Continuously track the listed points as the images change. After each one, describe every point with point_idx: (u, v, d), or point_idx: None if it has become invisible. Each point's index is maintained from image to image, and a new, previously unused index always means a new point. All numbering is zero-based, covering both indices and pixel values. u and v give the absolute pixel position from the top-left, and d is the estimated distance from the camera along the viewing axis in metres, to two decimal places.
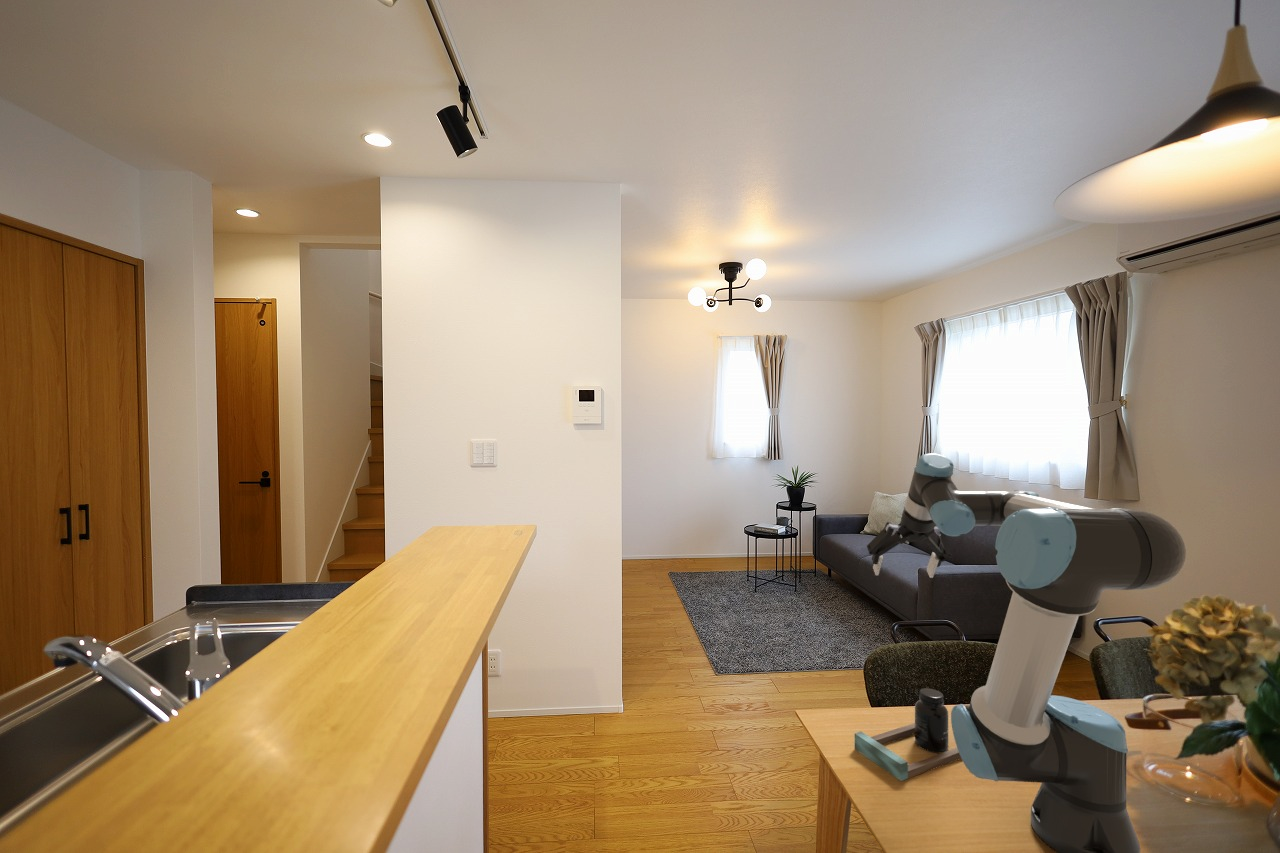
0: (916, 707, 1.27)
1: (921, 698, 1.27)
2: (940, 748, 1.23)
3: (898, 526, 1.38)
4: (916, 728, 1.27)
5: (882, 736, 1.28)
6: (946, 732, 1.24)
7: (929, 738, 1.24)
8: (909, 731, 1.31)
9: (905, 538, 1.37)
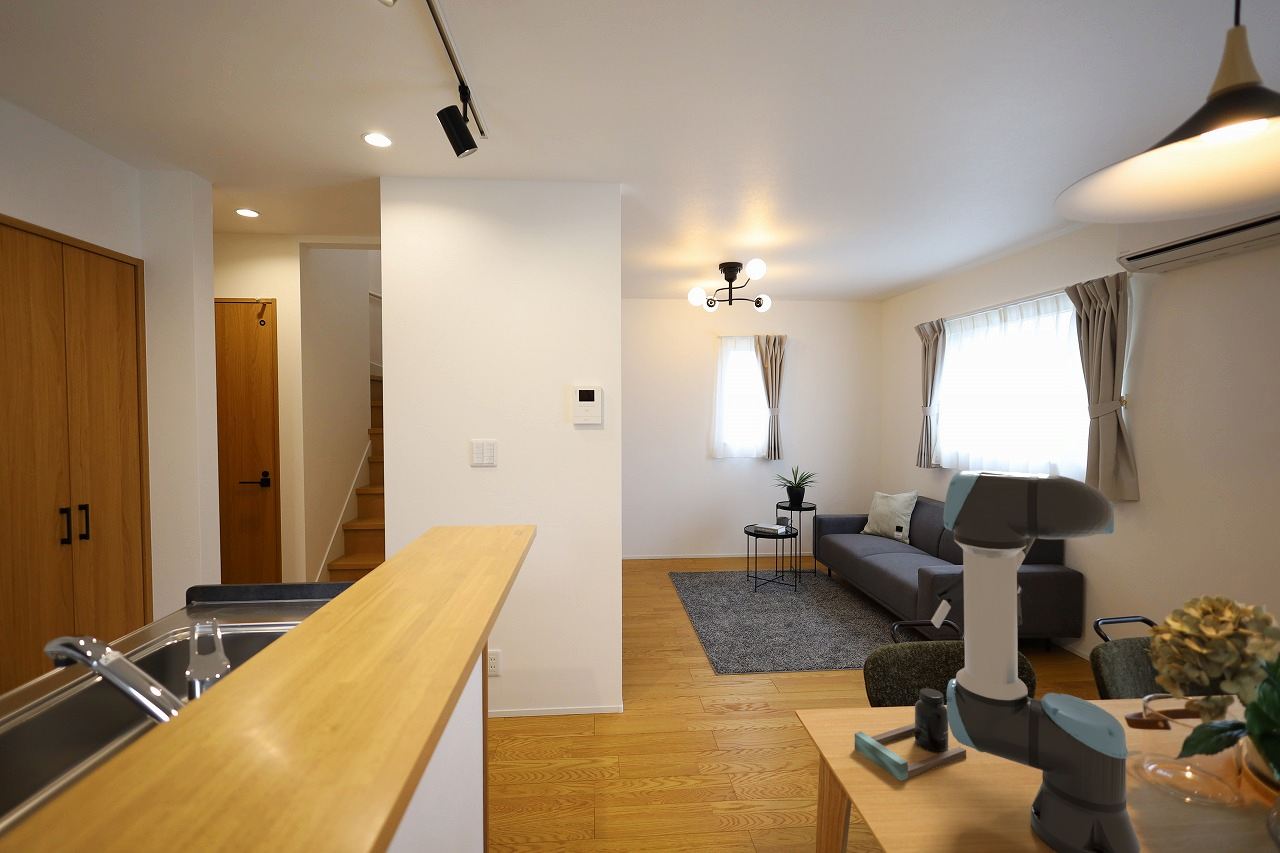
0: (916, 707, 1.27)
1: (921, 698, 1.27)
2: (940, 748, 1.23)
3: None
4: (916, 728, 1.27)
5: (882, 736, 1.28)
6: (946, 732, 1.24)
7: (929, 738, 1.24)
8: (909, 731, 1.31)
9: None
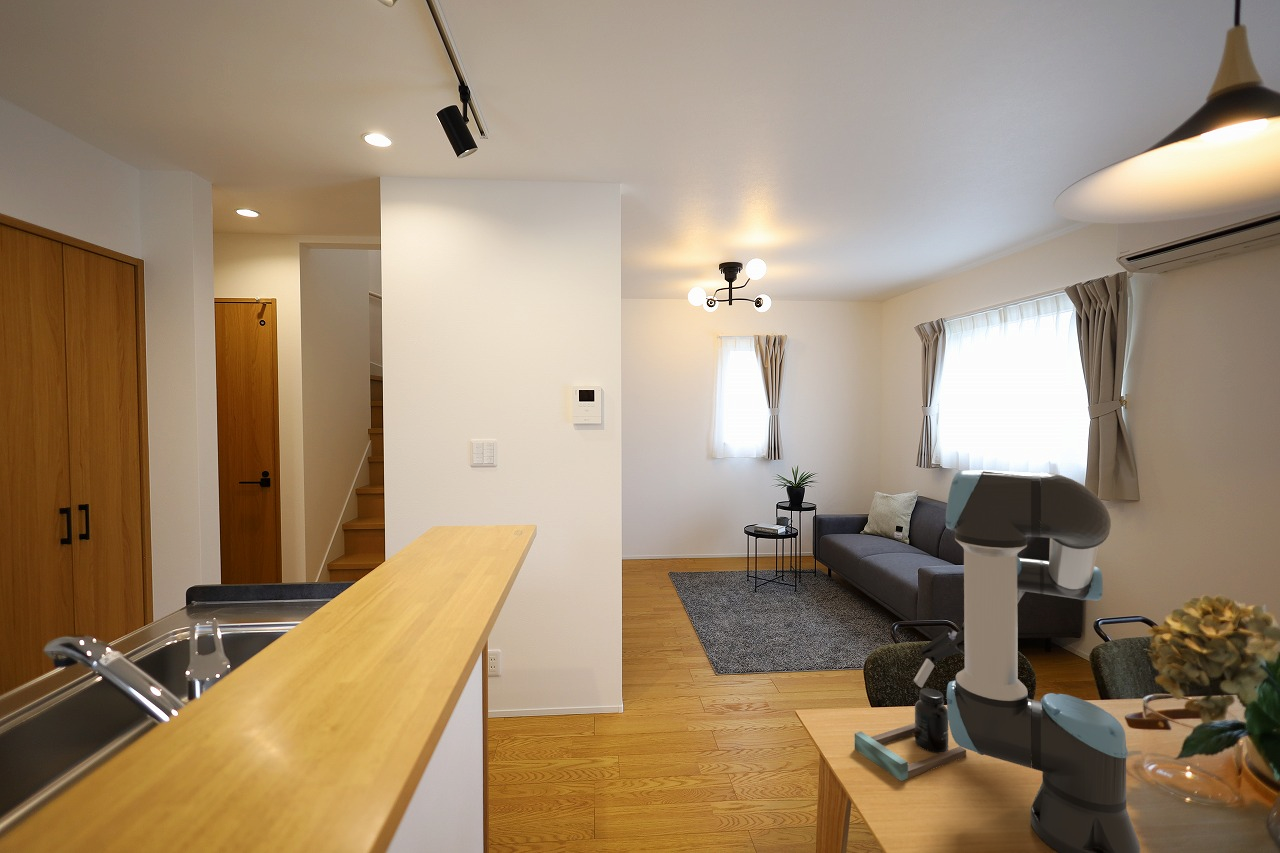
0: (916, 707, 1.27)
1: (921, 698, 1.27)
2: (940, 748, 1.23)
3: None
4: (916, 728, 1.27)
5: (882, 736, 1.28)
6: (946, 732, 1.24)
7: (929, 738, 1.24)
8: (909, 731, 1.31)
9: (957, 640, 1.35)
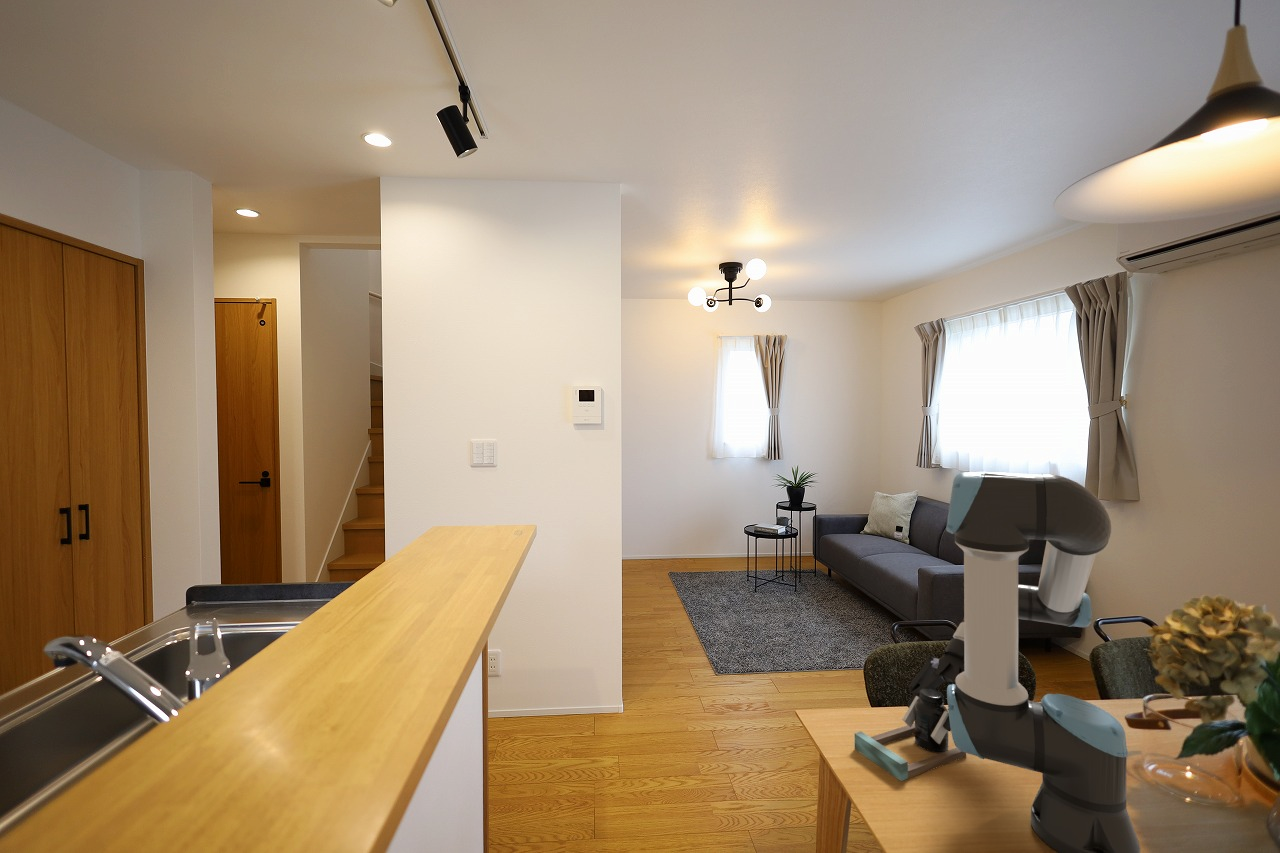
0: (916, 707, 1.27)
1: (921, 698, 1.27)
2: (940, 748, 1.23)
3: None
4: (916, 728, 1.27)
5: (882, 736, 1.28)
6: (946, 732, 1.24)
7: (929, 738, 1.24)
8: (909, 731, 1.31)
9: (940, 667, 1.31)
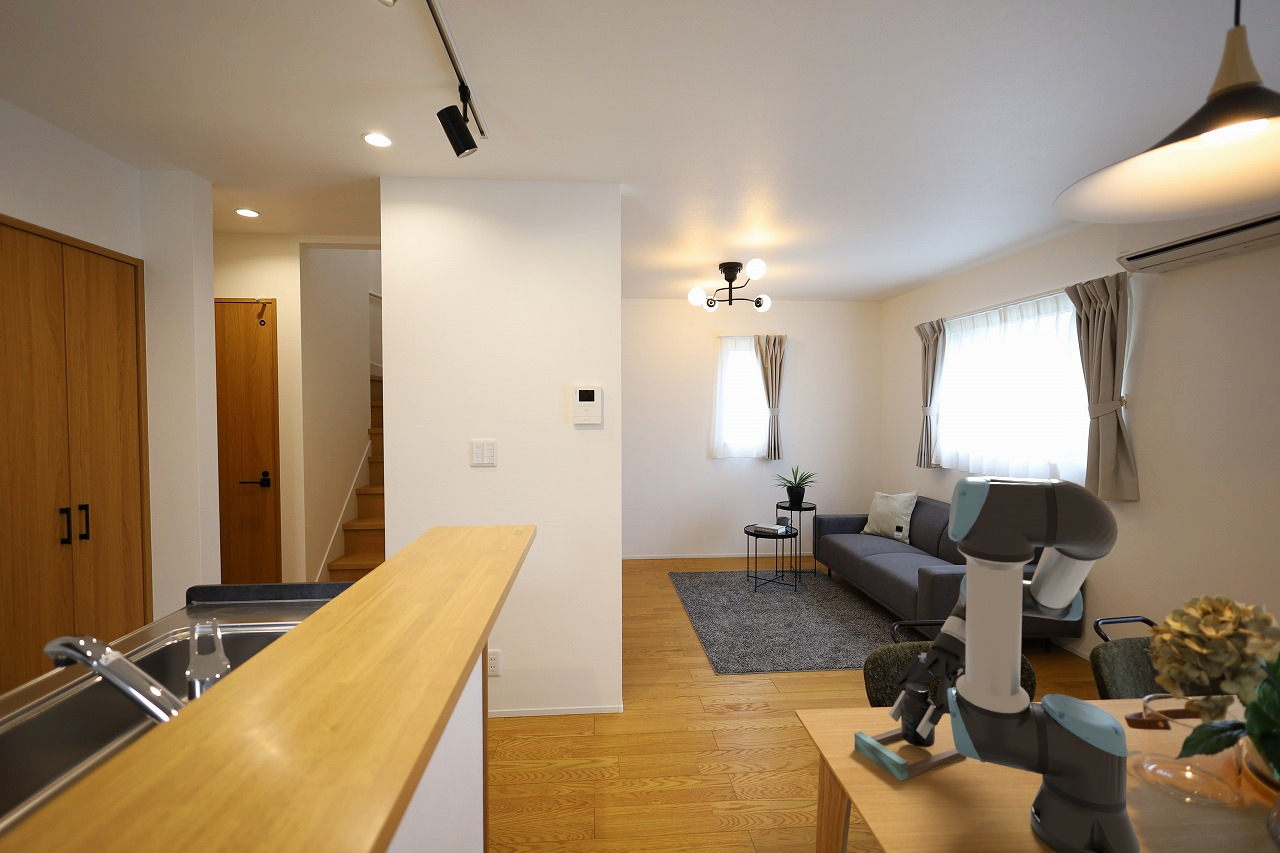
0: (902, 701, 1.26)
1: (907, 692, 1.25)
2: (926, 743, 1.22)
3: None
4: (902, 723, 1.26)
5: (882, 736, 1.28)
6: (932, 727, 1.23)
7: (915, 732, 1.23)
8: None
9: (927, 661, 1.30)
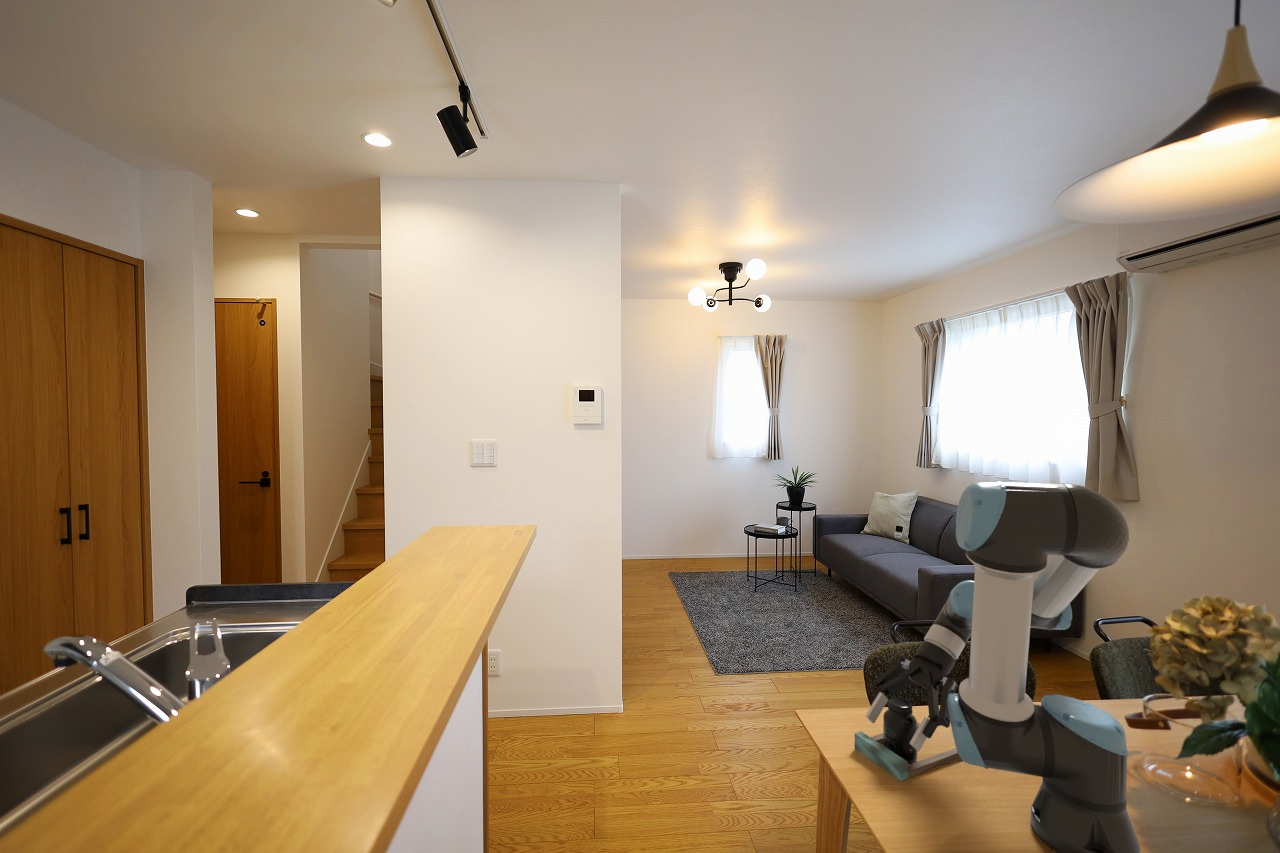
0: (884, 717, 1.23)
1: (889, 707, 1.23)
2: (908, 759, 1.19)
3: None
4: (884, 738, 1.23)
5: (882, 736, 1.28)
6: None
7: (897, 749, 1.20)
8: None
9: (910, 669, 1.27)
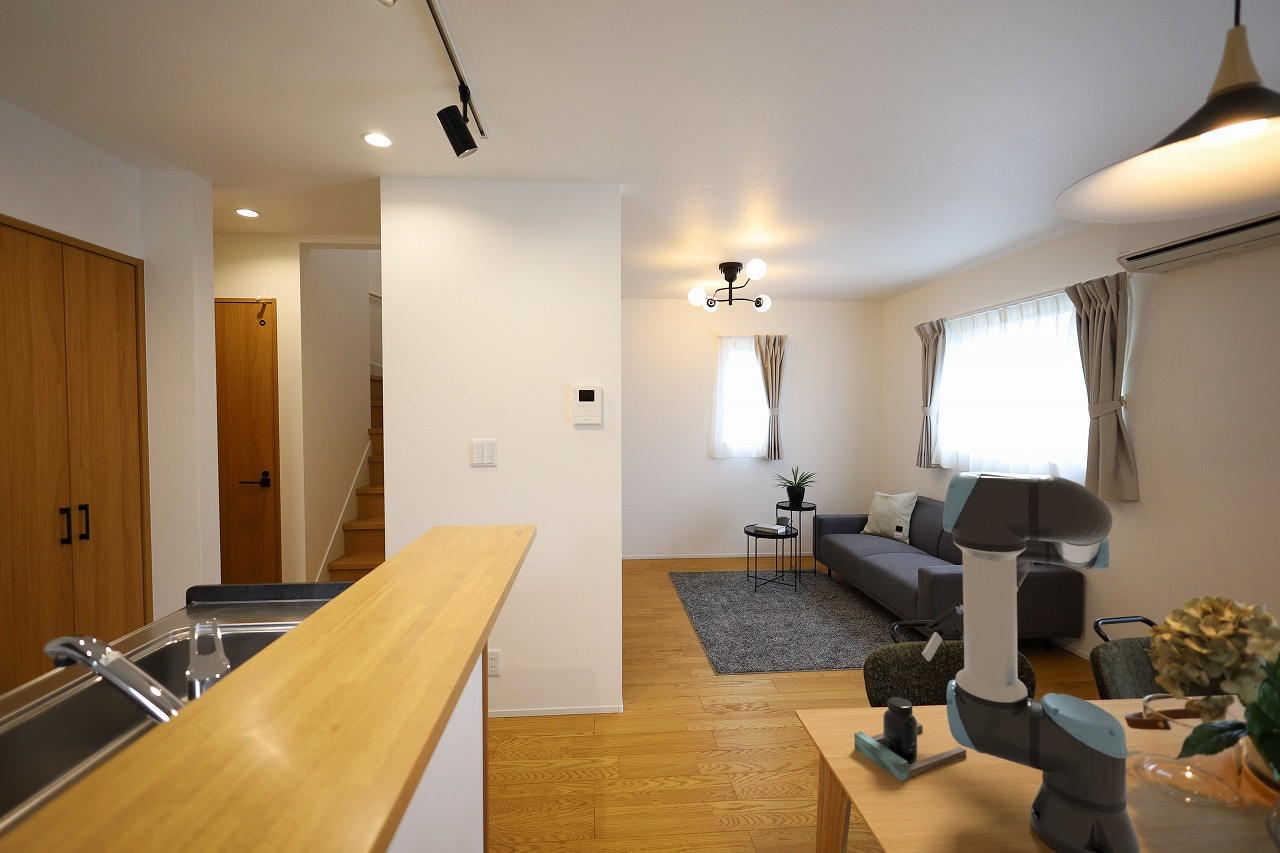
0: (884, 717, 1.23)
1: (889, 707, 1.23)
2: (908, 759, 1.19)
3: None
4: (884, 738, 1.23)
5: (882, 736, 1.28)
6: (914, 743, 1.20)
7: (897, 749, 1.20)
8: None
9: None
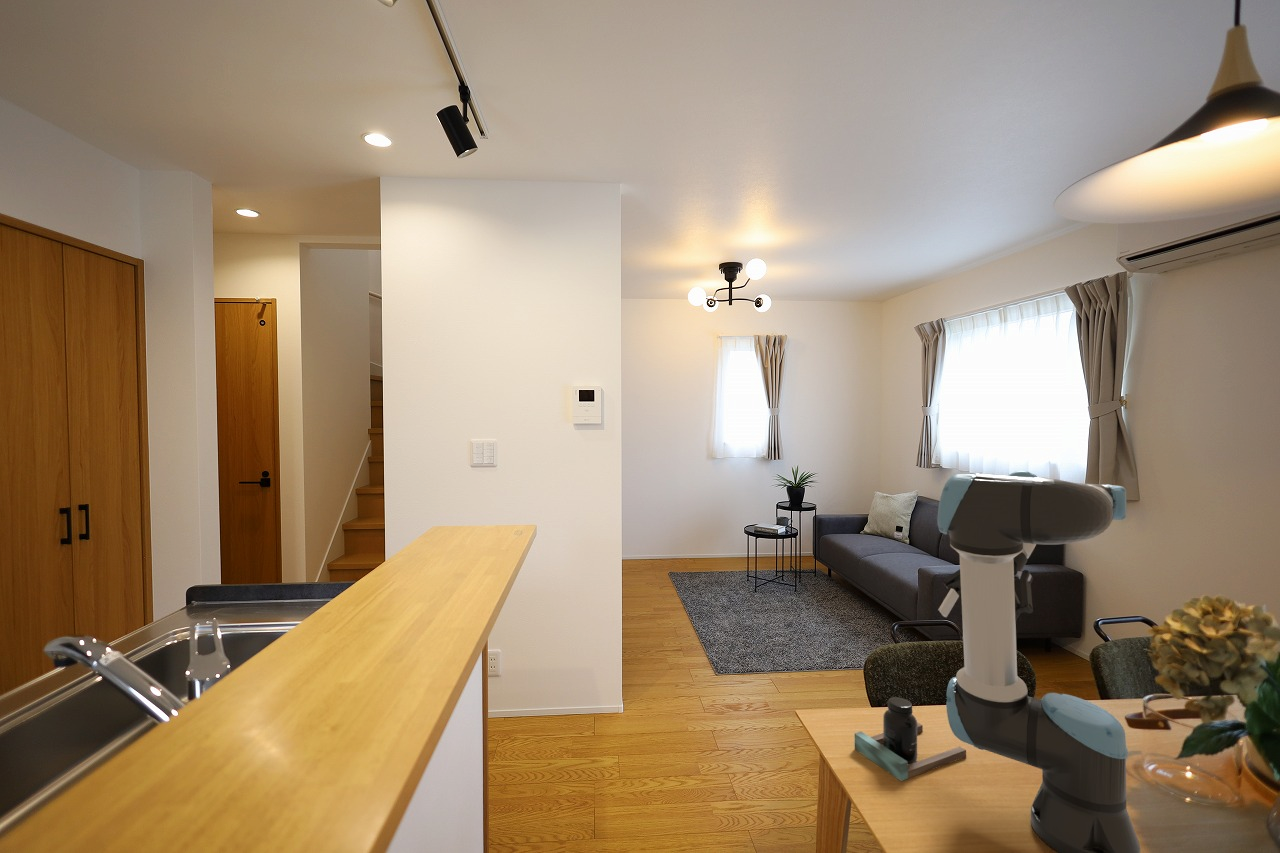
0: (884, 717, 1.23)
1: (889, 707, 1.23)
2: (908, 759, 1.19)
3: None
4: (884, 738, 1.23)
5: (882, 736, 1.28)
6: (914, 743, 1.20)
7: (897, 749, 1.20)
8: None
9: None
